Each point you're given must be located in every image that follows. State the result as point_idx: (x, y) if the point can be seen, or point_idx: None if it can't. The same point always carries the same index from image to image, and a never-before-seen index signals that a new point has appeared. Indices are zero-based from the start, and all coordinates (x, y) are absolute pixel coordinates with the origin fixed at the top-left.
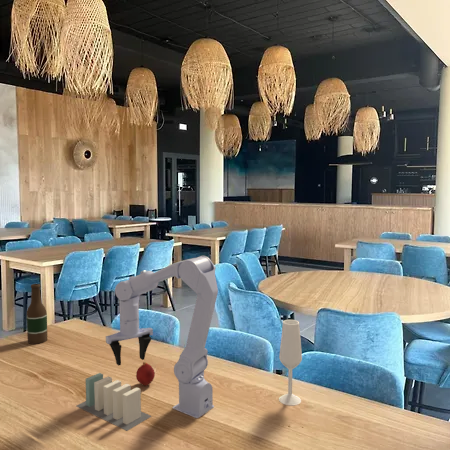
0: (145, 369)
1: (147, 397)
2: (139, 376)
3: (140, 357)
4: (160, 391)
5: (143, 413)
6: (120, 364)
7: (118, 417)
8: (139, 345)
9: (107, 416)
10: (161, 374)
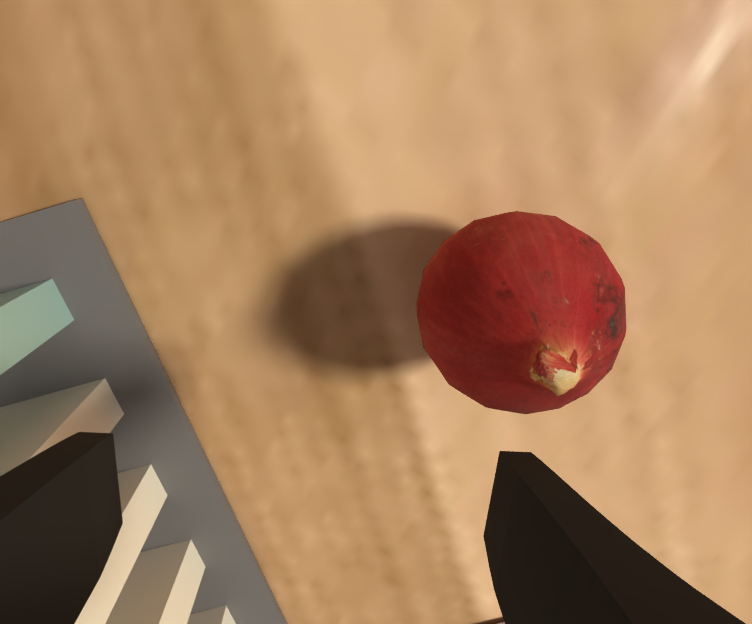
0: (507, 401)
1: (394, 446)
2: (428, 350)
3: (498, 487)
4: (519, 423)
5: (267, 610)
6: (111, 537)
7: None
8: (609, 614)
9: None
10: (737, 152)
